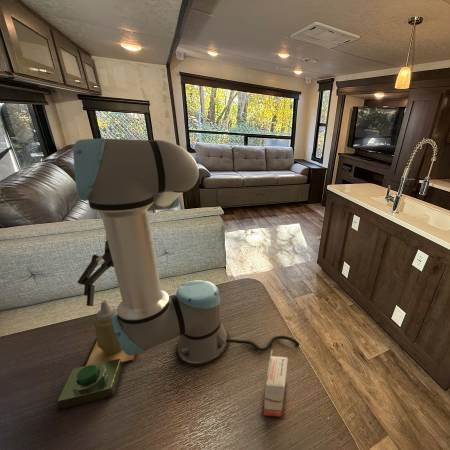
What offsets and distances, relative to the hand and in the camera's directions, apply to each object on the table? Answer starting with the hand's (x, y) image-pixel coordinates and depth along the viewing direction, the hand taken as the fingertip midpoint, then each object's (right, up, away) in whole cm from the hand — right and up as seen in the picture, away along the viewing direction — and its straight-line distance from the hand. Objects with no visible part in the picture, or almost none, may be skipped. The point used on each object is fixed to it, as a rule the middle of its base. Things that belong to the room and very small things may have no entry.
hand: (115, 302), depth 81 cm
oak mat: (+2, -14, -3) cm, 14 cm away
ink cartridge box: (+54, -23, -12) cm, 60 cm away
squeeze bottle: (+2, -14, -2) cm, 14 cm away
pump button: (+5, -15, -16) cm, 22 cm away
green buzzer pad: (+4, -19, -13) cm, 23 cm away
